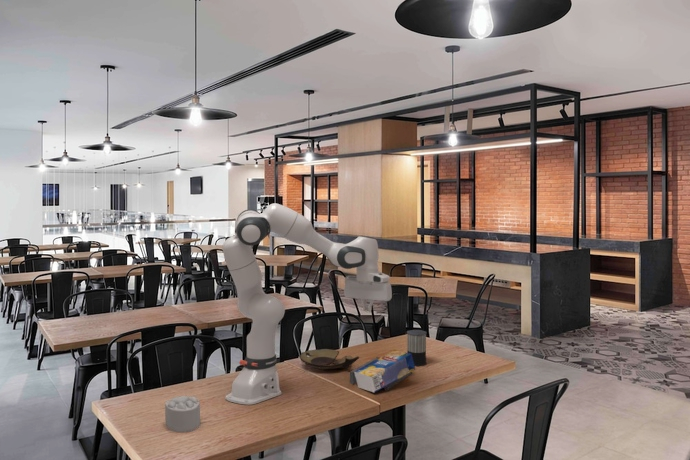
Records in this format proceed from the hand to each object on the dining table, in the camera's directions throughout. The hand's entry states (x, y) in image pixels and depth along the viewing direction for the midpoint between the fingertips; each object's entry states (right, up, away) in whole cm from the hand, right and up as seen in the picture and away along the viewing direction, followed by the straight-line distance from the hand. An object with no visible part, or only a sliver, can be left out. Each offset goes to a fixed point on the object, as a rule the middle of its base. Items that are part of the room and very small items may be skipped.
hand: (367, 310), depth 218 cm
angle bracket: (+7, -31, +12) cm, 33 cm away
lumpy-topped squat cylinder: (-63, -33, -36) cm, 80 cm away
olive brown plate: (-17, -30, +27) cm, 44 cm away
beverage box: (-2, -28, -5) cm, 28 cm away
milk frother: (+20, -30, +34) cm, 50 cm away
